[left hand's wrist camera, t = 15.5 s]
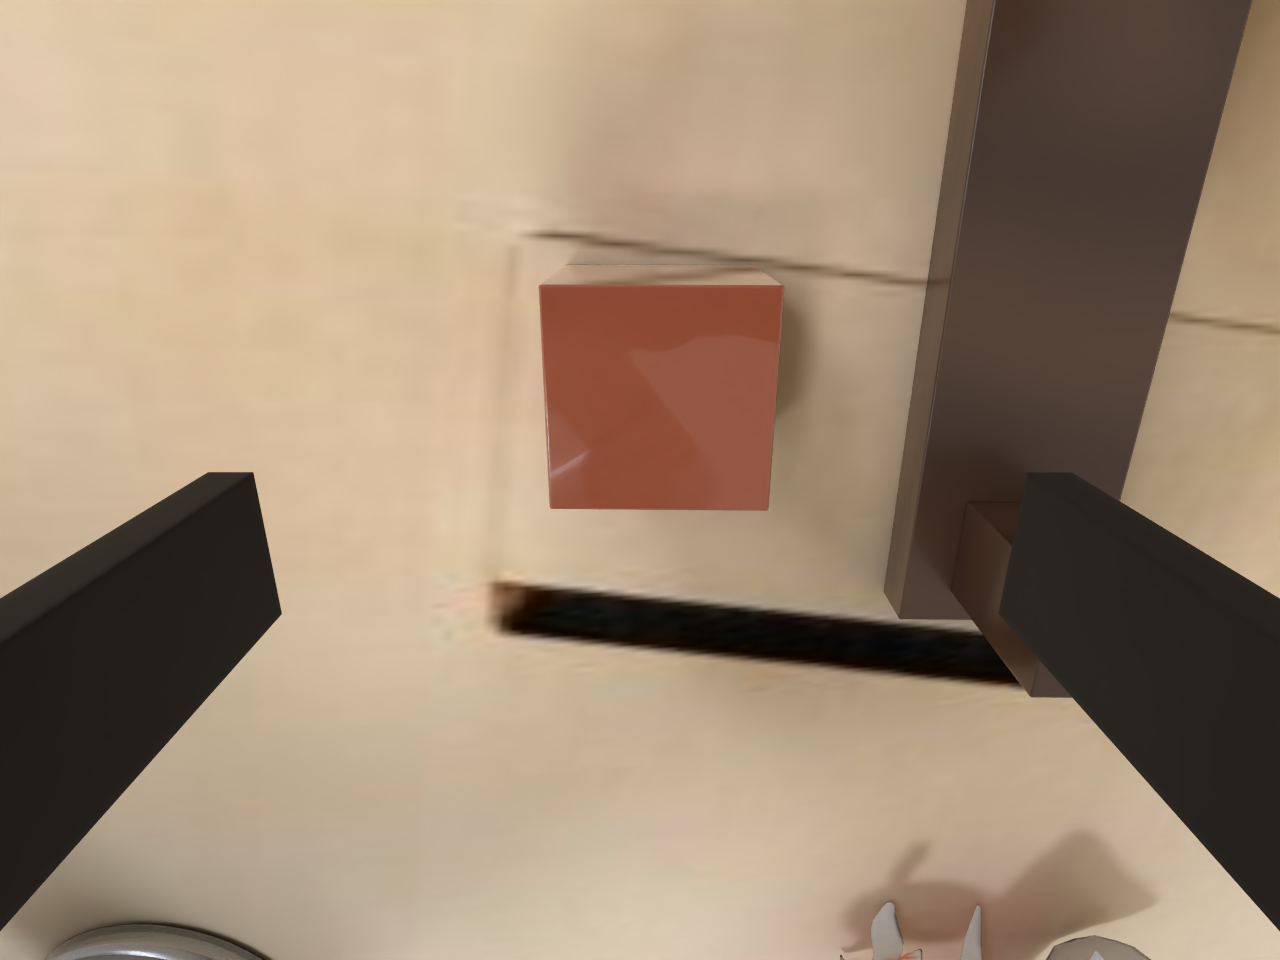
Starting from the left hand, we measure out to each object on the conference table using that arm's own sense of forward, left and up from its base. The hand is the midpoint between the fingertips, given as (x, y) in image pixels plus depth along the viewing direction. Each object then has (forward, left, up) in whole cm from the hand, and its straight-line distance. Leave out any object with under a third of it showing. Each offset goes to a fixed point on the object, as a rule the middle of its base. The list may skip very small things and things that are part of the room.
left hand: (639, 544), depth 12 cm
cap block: (0, 0, -14) cm, 14 cm away
